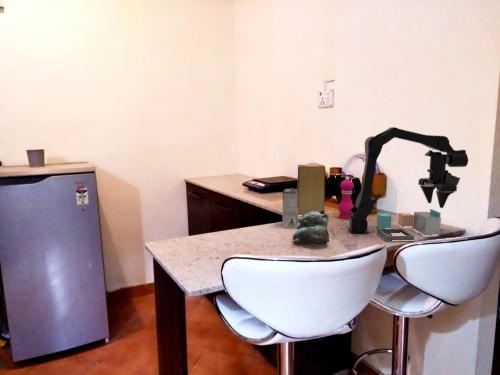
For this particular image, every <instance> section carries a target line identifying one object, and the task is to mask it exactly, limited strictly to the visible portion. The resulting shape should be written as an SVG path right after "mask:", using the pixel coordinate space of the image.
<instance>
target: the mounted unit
mask: <svg viewBox="0 0 500 375" xmlns="http://www.w3.org/2000/svg"><path fill="white" fill-rule="evenodd" d="M413 215H414V217H413V228H414V229H416V230H417V231H419V232H421V233H422V234H424V235H432V234H441V225H442V224H441V223H442V217H441V212H439V211H437V210H435V209H431V208H430V209H429V211H414V212H413Z"/></svg>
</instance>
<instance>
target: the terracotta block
mask: <svg viewBox="0 0 500 375" xmlns="http://www.w3.org/2000/svg"><path fill="white" fill-rule="evenodd" d="M397 218H398V219H397V220H398V221H397V225H398V224H399V225H401V226H402V227H404V226H413V221H414V214H412V213H410V212H398V217H397Z"/></svg>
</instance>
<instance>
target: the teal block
mask: <svg viewBox="0 0 500 375" xmlns="http://www.w3.org/2000/svg"><path fill="white" fill-rule="evenodd" d="M376 226H377V227H379V228H380V229H385V228H391V229H392V215H390V214H389V213H376ZM377 227H376V228H377ZM379 228H378V229H379Z"/></svg>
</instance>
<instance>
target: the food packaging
mask: <svg viewBox="0 0 500 375" xmlns="http://www.w3.org/2000/svg"><path fill="white" fill-rule="evenodd" d="M296 189H299V195H298V215H302V216H304V215H306V214H307V213H309V212H320V211H322V210H324V211H325V203H326V202H325V199H326V198H325V196H326V195H325V194H326V165H324V164H298V165H297V188H296Z"/></svg>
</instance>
